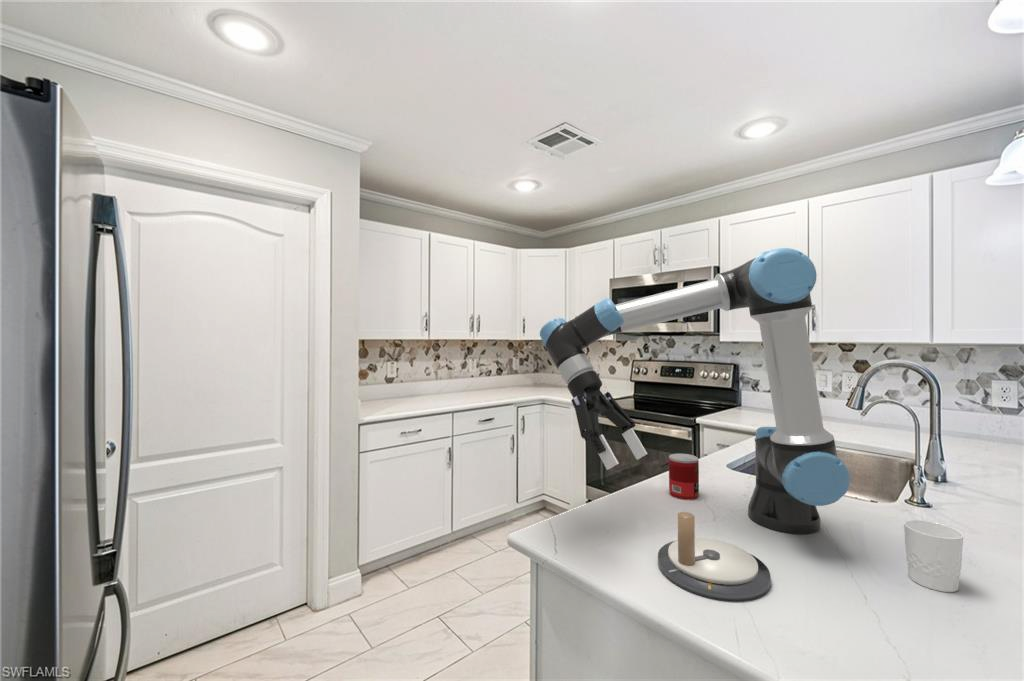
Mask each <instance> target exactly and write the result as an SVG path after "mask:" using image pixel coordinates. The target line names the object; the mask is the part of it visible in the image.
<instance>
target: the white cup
mask: <svg viewBox="0 0 1024 681" xmlns="http://www.w3.org/2000/svg"><path fill="white" fill-rule="evenodd" d="M903 528H904V545H905V547H904V548H905V556H906V557H905V560H906V562H907V576H908V577H909V578H910V579H911V581H913V582H914V583H916V584H919V585H920V586H921V587H925V588H927V589H930V590H934V591H938V592H941V593H954V592H957V591H959V586H960V585H959V582H960V576H961V574H962V572H961V570H962V564H963V562H962V561H963V550H964V548H963V545H964V534H963V533H962V532H961V531H960V530H958V529H956V528H954V527H952V526H949V525H946V524H943V523H940V522H935V521H929V520H925V519H924V520H923V519H908V520H905V521H904V522H903Z"/></svg>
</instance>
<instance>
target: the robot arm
mask: <svg viewBox="0 0 1024 681" xmlns="http://www.w3.org/2000/svg"><path fill="white" fill-rule="evenodd" d="M816 282H817V269H816V266H815V265H814V262H813V261H812V260H811V258H809V256H808V255H807V254H805V253H803V252H802V251H799V250H798V249H794V248H789V247H784V248H783V247H781V248H775V249H771V250H767V251H763V252H762V253H760V254H759V255H757V256H756V257H754V258H753V259H750V260H748V261H747V262H745V263H743V264H741V265H739V266H737V267H734V268H732V269H730V270H726V271H724V272H720V273H717V274H716V275H715V277H714V278H712V279H710V280H709V279H708V280H706V281H702V282H698V283H694V284H691V285H690V284H689V285H687V286H682V287H678V288H675V289H671V290H670V289H669V290H666V291H664V292H663V291H662V292H659V293H655V294H653V295H652V294H651V295H647V296H644V297H643V296H642V297H640V298H635V299H632V300H628V301H624V302H620V303H617V304H615V303H614V301H613V300H612V299H611V298H604V299H602V300H601V301H599V302H597V303H595V304H594V305H592V306H591V307H590V308H588V309H586V310H585V311H583V312H582V313H580V314H578V315H577V316H576V317H574V318H572V319H571V320H568V321H567V320H565V319H564V318H561V317H557V318H554V319H552V320H549V321H547V322H546V323H545V324H544V325H543V326H542V327H541V328H540V330H539V336H540V339H541V340H542V343H543V344H544V348H545V349H546V351H547V353H548V355H549V356H550V358H551V360H552V362H553V364H554V365H555V367H556V368H557V371H558V372H559V374H560V377H561V379H562V381H563V382H564V383H565V384H566V385H567V389H568V391H569V392H570V394H571V396H572V398H571V401H570V402H571V403H572V405H573V408H574V411H575V415H576V420H577V424H578V428H579V432H580V437H581V438H582V439H584V441H585V442H586V443H589V442H591V444H592V445H593V447H594V449H595V451H596V452H597V454H598V456H599V458H600V460H601V461H602V464H603V465H604V467H605V469H606V470H607V471H608V470H610V469H612V468H614V467H615V466H617V465H619V463H620V462H619V461H618V459H617V458H616V456H615V454H614V451H612V449H611V446H610V445H609V443H608V442H607V439H606V438H605V436H604V434H600V426H599V425H600V424H599V423H600V422H599V415H600V416H601V417H605V418H607V419H608V420H609V421H610V422H611V423H612V424H613V425H615V426H616V428H618V429H619V430H620V431H621V432H623V433H621V435H622V437H623V439H624V440H625V442H626V443H627V445H628V447H629V449H630V451H631V453H632V454H633V456H634V457H635V459H636V460H637V461H638V460H640V459H641V458H643V457H645V456H646V455H648V452H647V450H646V448H645V447H644V446H643V444H642V442H641V440H640V438H639V437H638V435H637V434H636V433H635V430H634V429H633V428H635V427H636V426H637V425H636V423H635V421H634V420H633V419H632V418H631V417H630V415H629V414H628V413H627V412H626V411H625V410H624V408H622V407H621V405H619V403H618V402H617V401H616V400H615V399H614V397H613V395H612V394H611V393H610V392H609V391H607V392H606V393H604V394H603V392H602V391H601V388H602V386H603V382H602V380H601V378H600V377H599V375H598V374H597V372H596V371H595V368H594V366H593V364H592V363H591V361H590V359H589V357H588V356H587V355H586V353H585V352H584V349H585V348H587V347H589V346H590V345H592V344H593V343H596V342H597V341H599V340H600V339H603V338H605V337H607V336H611V335H616V334H619V333H624V332H628V331H631V330H635V329H641V328H644V327H649V326H652V325H653V326H654V325H657V324H661V323H665V322H666V323H667V322H669V321H673V320H677V319H682V318H686V317H690V316H694V315H698V314H703V313H707V312H710V311H711V312H712V311H716V310H718V309H721V310H723V311H725V312H728V311H734V310H738V309H744V308H748V310H749V317H750V318H751V319H753V320H754V321H756V322H757V323H758V324H759V330H760V336H761V341H762V348H763V354H764V361H765V366H766V372H767V373H766V374H767V379H768V384H769V390H770V396H771V397H770V398H771V403H772V409H773V410H772V411H773V416H774V421H775V426H760V427H758V428H756V430H755V437H754V443H755V444H754V446H755V486H754V489H753V492H752V495H751V497H750V500H749V503H748V506H747V509H748V510H747V515H748V517H749V519H750V520H752V521H753V522H754V523H756V524H758V525H760V526H763V527H765V528H768V529H770V530H774V531H778V532H783V533H789V534H800V535H802V534H805V535H806V534H813V533H816V532H818V531H820V529H821V516H820V513H819V511H818V509H817V507H823V506H828V505H832V504H835V503H836V502H838V501H839V500H840V499H841V498H842V497H844V496H845V495H846V493H848V491H849V489H850V486H851V485H850V484H851V475H850V474H851V473H850V471H849V469H848V467H847V465H846V464H845V462H844V461H843V460H842V459H841V458H839V457H838V453H837V448H836V442H835V436H834V434H832V433H830V432H829V431H828V430H826V429H825V428H824V423H823V417H822V416H823V415H822V413H821V412H822V410H821V404H820V400H819V399H820V398H819V394H818V393H819V392H818V387H817V380H816V375H815V367H814V363H813V356H812V350H811V344H810V339H809V337H810V336H809V332H808V325H807V320H806V317H807V316H808V313H810V312H811V310H812V309H813V303H812V297H811V292H812V291H813V289H814V287H815V286H816V285H815V284H816Z"/></svg>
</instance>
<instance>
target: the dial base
mask: <svg viewBox="0 0 1024 681" xmlns="http://www.w3.org/2000/svg"><path fill="white" fill-rule="evenodd" d="M677 540H678V539H676V540H673V541H669V542H667V543H665V544H664V545H663V546H662V547H660V548H659V550H658V551H657V552H658V553H657V564H658V569H659V570H660V572H661V574H662V575H663V576H664V577H665V578H666V579H667V580H668V581H669V582H671V584H673V585H675V586H677V587H679V588H680V589H683V590H685V591H686V592H689V593H691V594H694V595H697V596H700V597H703V598H707V599H711V600H714V601H715V600H717V601H720V602H721V601H723V602H733V603H735V602H737V603H739V602H747V601H754V600H758V599H760V598H762V597H764V596H765V595H767V593H768V592H769V591H770V589H771V578H772V577H771V572H770V569H769V568H768V567H767V565H766V564H765V563H764V562H762V560H760V559H759V558H758V557H757V556H755V555H753V554H751V553H750V552H748V553H749V554H751V555H752V556H753V557H754V558H755V560H756V561H757V563H758V575H757V577H756V578H755V579H754V580H752V581H750V582H747V583H743V584H737V585H724V584H716V583H711V582H706V581H703V580H699V579H697V578H694V577H691V576H689V575H687V574H685V573H683V572H682V571H680V570H679V569H677V568H676V567H675V566H674V565H673V564H672V563H671V561H670V560H669V557H668V548H669V546H670V545H671V544H672V543H673V542H674V541H677Z"/></svg>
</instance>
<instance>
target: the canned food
mask: <svg viewBox="0 0 1024 681" xmlns="http://www.w3.org/2000/svg"><path fill="white" fill-rule="evenodd" d="M699 463H700V462H699V457H698V456H695V455H694V454H689V453H671V454H669V456H668V485H669V486H668V490H669V491H668V492H669V494H670V495H671V496H672V497H674V498H676V497H677V499H681V500H687V499H690V500H696V499H697V498H698V497H699V495H700V490H699V488H700V485H699V484H700V483H699V482H700V480H699V479H700V478H699V476H700V474H699V473H700V472H699V468H700V467H699V466H700V464H699Z"/></svg>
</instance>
